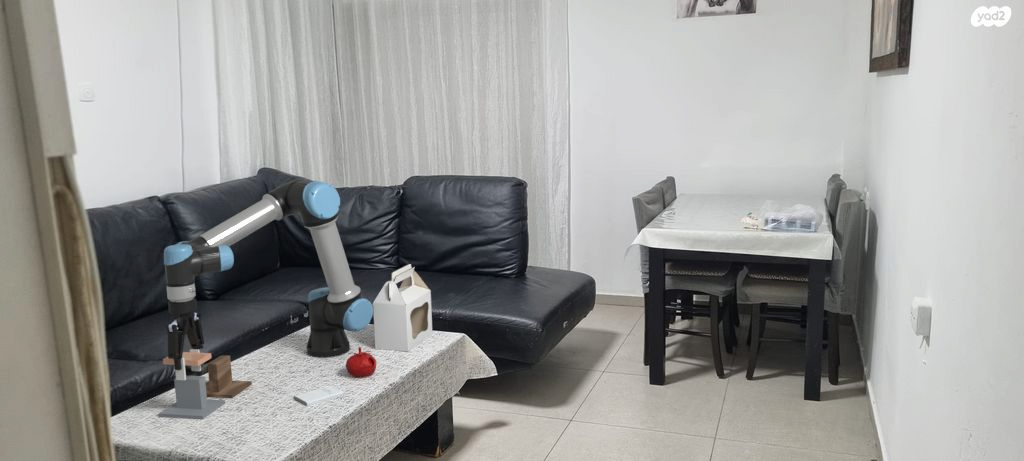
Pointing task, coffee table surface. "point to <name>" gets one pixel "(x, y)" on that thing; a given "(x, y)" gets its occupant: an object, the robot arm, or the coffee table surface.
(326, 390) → the external hard drive
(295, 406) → the coffee table surface
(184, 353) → the terracotta tile
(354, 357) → the pomegranate
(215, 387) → the walnut stand
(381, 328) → the gable box
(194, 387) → the slate stand
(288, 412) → the coffee table surface
